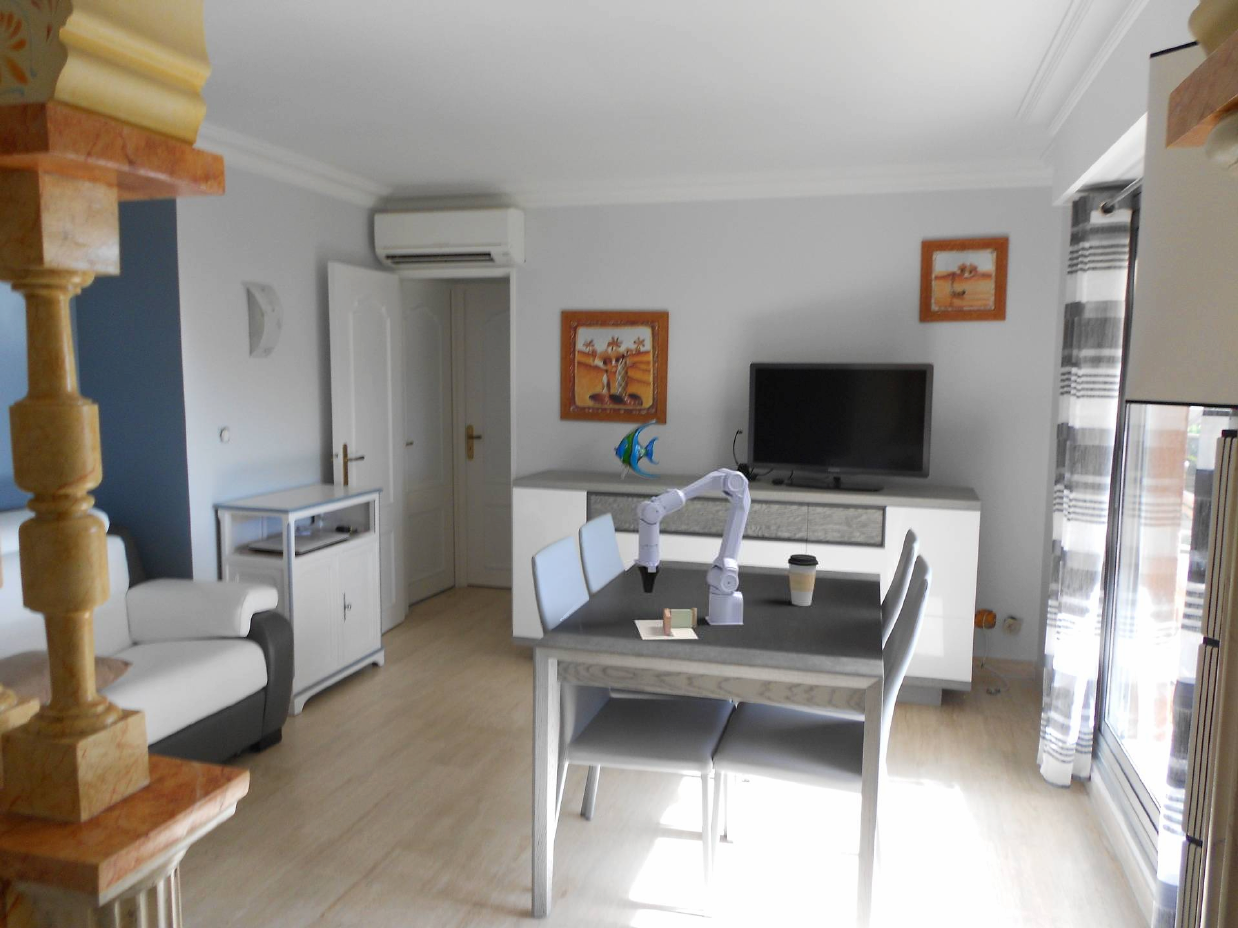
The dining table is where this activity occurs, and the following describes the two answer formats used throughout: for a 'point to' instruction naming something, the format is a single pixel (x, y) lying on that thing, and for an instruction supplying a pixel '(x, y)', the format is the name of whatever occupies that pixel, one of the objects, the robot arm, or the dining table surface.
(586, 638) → the dining table surface
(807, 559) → the coffee cup
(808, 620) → the dining table surface
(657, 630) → the card
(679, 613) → the fence fixed
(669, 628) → the fence panel
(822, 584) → the dining table surface
